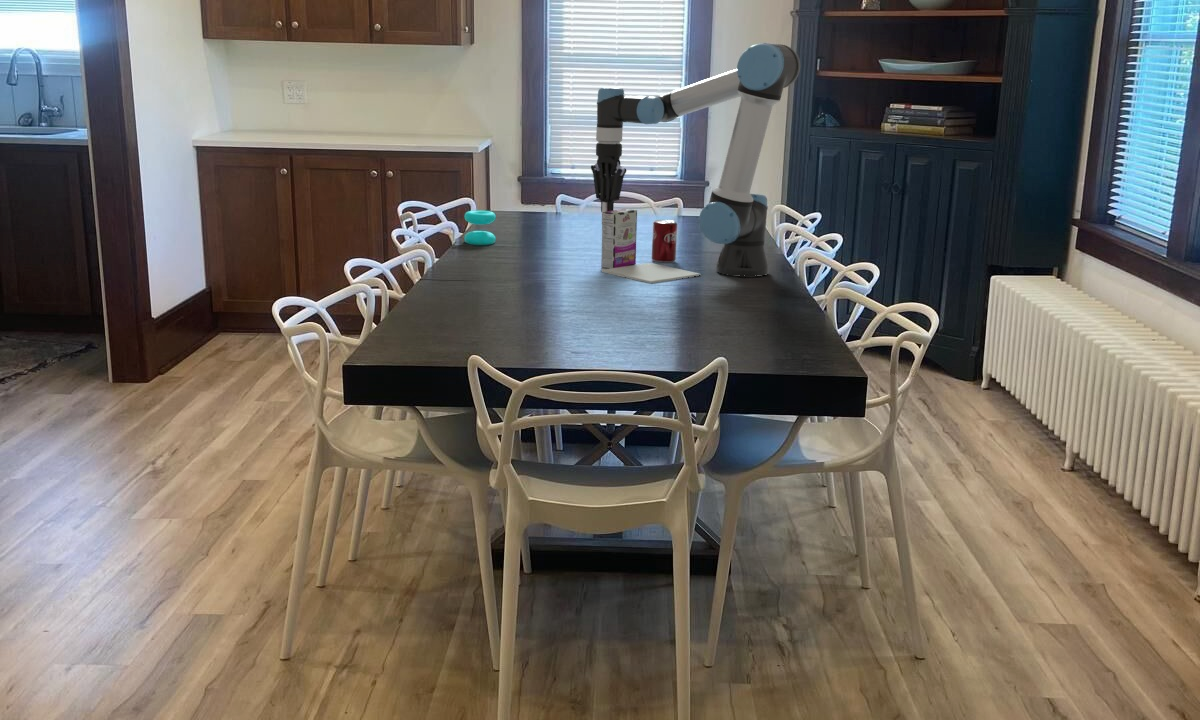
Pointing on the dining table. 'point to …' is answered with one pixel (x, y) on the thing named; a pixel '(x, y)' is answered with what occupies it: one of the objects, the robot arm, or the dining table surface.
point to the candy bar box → (619, 238)
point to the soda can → (664, 241)
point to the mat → (650, 272)
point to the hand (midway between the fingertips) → (606, 224)
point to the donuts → (479, 236)
